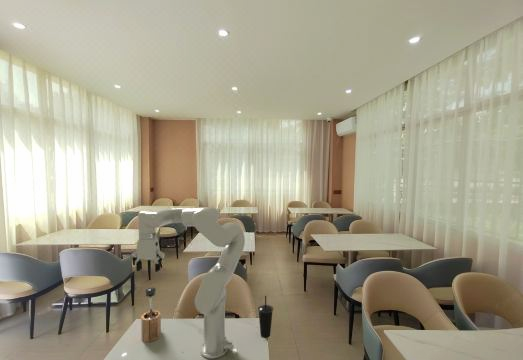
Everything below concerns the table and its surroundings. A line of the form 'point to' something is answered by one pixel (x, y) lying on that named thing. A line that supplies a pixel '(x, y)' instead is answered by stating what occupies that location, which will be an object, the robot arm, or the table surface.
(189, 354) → the table surface
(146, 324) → the brown faceted holder
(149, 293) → the plunger
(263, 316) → the drinking cup
